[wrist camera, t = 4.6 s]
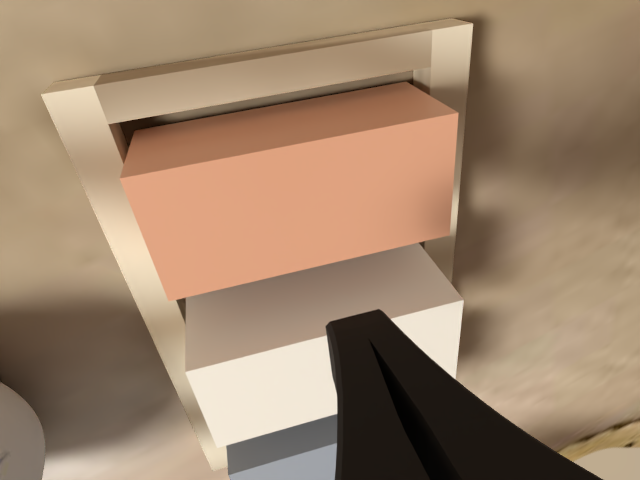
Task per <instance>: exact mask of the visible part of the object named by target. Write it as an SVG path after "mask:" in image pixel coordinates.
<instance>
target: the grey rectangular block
mask: <svg viewBox="0 0 640 480" xmlns="http://www.w3.org/2000/svg"><path fill="white" fill-rule="evenodd" d="M226 449H227V462H228V475H229V478H230V480H335V469H336V451H337V414H334V415H331V416H327V417H324V418H321V419H317V420H314V421H310V422H307V423H303V424H300V425H296V426H293V427H289V428H286V429H282V430H279V431H275V432H272V433H268V434H265V435H261V436H258V437H254V438H251V439H247V440H244V441H240V442H237V443H233V444H230V445H226Z"/></svg>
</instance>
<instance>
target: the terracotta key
mask: <svg viewBox="0 0 640 480" xmlns="http://www.w3.org/2000/svg"><path fill="white" fill-rule="evenodd" d="M458 114H459V113H458V112H456V111H455V110H453V109H451V108H450V107H448V106H446V105H445V104H443V103H441V102H440V101H438V100H436V99H435V98H433V97H431V96H430V95H428V94H426V93H424V92H423V91H421V90H419V89H418V88H416V87H414V86H413V85H411V84H409V83H408V82H401V83H396V84H390V85H385V86H379V87H373V88H368V89H362V90H357V91H351V92H346V93H340V94H335V95H329V96H324V97H318V98H312V99H307V100H301V101H296V102H290V103H285V104H279V105H274V106H268V107H263V108H257V109H251V110H246V111H240V112H235V113H229V114H224V115H218V116H213V117H207V118H202V119H196V120H190V121H185V122H179V123H174V124H168V125H163V126H157V127H152V128H146V129H141V130H135V131H134V134H133V137H132V140H131V144H130V147H129V150H128V153H127V156H126V160H125V163H124V166H123V169H122V173H121V176H120V181H121V183H122V186H123V188H124V191H125V193H126V196H127V198H128V201H129V203H130V206H131V208H132V211H133V213H134V216H135V218H136V221H137V223H138V226H139V228H140V231H141V233H142V236H143V239H144V241H145V244H146V246H147V249H148V251H149V254H150V256H151V259H152V261H153V264H154V266H155V269H156V271H157V274H158V276H159V279H160V281H161V284H162V286H163V289H164V291H165V294H166V296H167V299H168V301H173V300H178V299H182V298H186V297H190V296H194V295H199V294H203V293H207V292H211V291H216V290H220V289H224V288H228V287H233V286H237V285H241V284H245V283H250V282H254V281H258V280H262V279H266V278H271V277H275V276H279V275H283V274H288V273H292V272H296V271H300V270H305V269H309V268H313V267H317V266H322V265H326V264H330V263H334V262H339V261H343V260H347V259H351V258H355V257H360V256H364V255H368V254H372V253H377V252H381V251H385V250H389V249H394V248H398V247H402V246H406V245H411V244H415V243H419V242H423V241H427V240H432V239H436V238H440V237H444V236H449V235H450V224H451V210H452V196H453V183H454V169H455V155H456V141H457V128H458Z"/></svg>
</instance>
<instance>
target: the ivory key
mask: <svg viewBox="0 0 640 480" xmlns="http://www.w3.org/2000/svg"><path fill="white" fill-rule="evenodd" d="M463 302H464V299H463V298H462V297H461V296H460V294H459V293H458V292H457V291H456V289H455V288H454V287H453V286H452V284H451V283H450V282H449V281H448V279H447V278H446V277H445V275H444V274H443V273H442V272H441V270H440V269H439V268H438V267H437V265H436V264H435V263H434V262H433V260H432V259H431V258H430V256H429V255H428V254H427V253H426V251H425V250H424V249H423V248H422V246H421V245H420V244H419V243H415V244H411V245H406V246H402V247H398V248H394V249H389V250H385V251H381V252H377V253H372V254H368V255H364V256H360V257H355V258H351V259H347V260H343V261H339V262H334V263H330V264H326V265H322V266H317V267H313V268H309V269H305V270H300V271H296V272H292V273H288V274H283V275H279V276H275V277H271V278H266V279H262V280H258V281H254V282H250V283H245V284H241V285H237V286H233V287H228V288H224V289H220V290H216V291H211V292H207V293H203V294H199V295H194V296H190V297H186V333H185V373H186V376H187V378H188V380H189V383H190V385H191V387H192V390H193V392H194V395H195V397H196V399H197V402H198V404H199V406H200V409H201V411H202V414H203V416H204V418H205V421H206V423H207V425H208V428H209V430H210V433H211V435H212V437H213V440H214V442H215V444H216V447H217V448H219V447H223V446H226V445H230V444H233V443H237V442H240V441H244V440H247V439H251V438H254V437H258V436H261V435H265V434H268V433H272V432H275V431H279V430H282V429H286V428H289V427H293V426H296V425H300V424H303V423H307V422H310V421H314V420H317V419H321V418H324V417H327V416H331V415H334V414H337V392H336V388H335V384H334V381H333V377H332V370H331V363H330V356H329V348H328V341H327V334H326V327H325V326H326V325H327V324H328V323H329V322H330V321H334V320H337V319H341V318H345V317H349V316H353V315H357V314H361V313H365V312H369V311H373V310H377V309H380V310H382V311H383V312H384V313H385V314H386V315H387V316H388V317H389V318H390V319H391V320H392V321H393V322H394V323H395V324H396V325H397V326H398V327H399V328H400V329H401V330H402V331H403V332H404V333H405V334H406V335H407V336H408V337H409V338H410V339H411V340H412V341H413V342H414V343H415V344H416V345H417V346H418V347H419V348H420V349H421V350H422V351H424V352H425V353H426V354H427V355H428V356H429V357H430V358H431V359H432V360H434V361H435V362H436V363H437V364H438V365H439V366H440V367H442V368H443V369H444V370H445V371H446V372H447V373H448V374H450V375H451V376H452V377H453V378H454V379H456V369H457V360H458V350H459V341H460V331H461V321H462V312H463Z"/></svg>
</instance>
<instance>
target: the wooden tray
mask: <svg viewBox="0 0 640 480" xmlns="http://www.w3.org/2000/svg"><path fill="white" fill-rule="evenodd" d="M472 32H473V23H470V22H466V21H462V20H457V19H453V18H450V19H444V20H437V21H431V22H425V23H419V24H413V25H406V26H400V27H394V28H388V29H382V30H375V31H369V32H363V33H357V34H351V35H344V36H338V37H332V38H326V39H320V40H313V41H307V42H301V43H295V44H288V45H282V46H276V47H270V48H264V49H257V50H251V51H245V52H239V53H233V54H226V55H220V56H214V57H208V58H202V59H195V60H189V61H183V62H177V63H171V64H164V65H158V66H152V67H146V68H140V69H133V70H127V71H121V72H115V73H109V74H102V75H96V76H90V77H84V78H78V79H71V80H65V81H59V82H53V83H52V84H51V85H50V86H49V87H48V88H47V89H46V90H45V91H44V92H43V93H42V94H41V96H42V98H43V100H44V102H45V104H46V107H47V109H48V111H49V113H50V115H51V118H52V120H53V122H54V124H55V126H56V129H57V131H58V133H59V135H60V137H61V140H62V142H63V144H64V146H65V148H66V151H67V153H68V155H69V157H70V159H71V162H72V164H73V166H74V168H75V170H76V173H77V175H78V177H79V179H80V181H81V184H82V186H83V188H84V190H85V192H86V194H87V197H88V199H89V201H90V203H91V205H92V208H93V210H94V212H95V214H96V216H97V219H98V221H99V223H100V225H101V227H102V230H103V232H104V234H105V236H106V238H107V241H108V243H109V245H110V247H111V249H112V252H113V254H114V256H115V258H116V260H117V263H118V265H119V267H120V269H121V271H122V273H123V276H124V278H125V280H126V282H127V284H128V287H129V289H130V291H131V293H132V295H133V298H134V300H135V302H136V304H137V306H138V309H139V311H140V313H141V315H142V317H143V320H144V322H145V324H146V326H147V328H148V331H149V333H150V335H151V337H152V339H153V342H154V344H155V346H156V348H157V350H158V352H159V355H160V357H161V359H162V361H163V363H164V366H165V368H166V370H167V372H168V374H169V377H170V379H171V381H172V383H173V385H174V388H175V390H176V392H177V394H178V396H179V399H180V401H181V403H182V405H183V407H184V410H185V412H186V414H187V416H188V418H189V421H190V423H191V425H192V427H193V429H194V432H195V434H196V436H197V438H198V440H199V442H200V445H201V447H202V449H203V451H204V453H205V456H206V458H207V460H208V462H209V464H210V467H211V469H212V471H215V470H219V469H222V468H226V467H228V462H227V449H226V446H223V447H219V448H217V447H216V444H215V442H214V440H213V437H212V435H211V433H210V430H209V428H208V425H207V423H206V421H205V418H204V416H203V414H202V411H201V409H200V406H199V404H198V402H197V399H196V397H195V395H194V392H193V390H192V387H191V385H190V383H189V380H188V378H187V376H186V373H185V333H186V302H185V299H184V298H182V299H178V300H173V301H168V299H167V296H166V294H165V291H164V289H163V286H162V284H161V281H160V279H159V276H158V274H157V271H156V269H155V266H154V264H153V261H152V259H151V256H150V254H149V251H148V249H147V246H146V244H145V241H144V239H143V236H142V233H141V231H140V228H139V226H138V223H137V221H136V218H135V216H134V213H133V211H132V208H131V206H130V203H129V201H128V198H127V196H126V193H125V191H124V188H123V186H122V183H121V181H120V176H121V173H122V169H123V166H124V163H125V160H126V156H127V153H128V150H129V148H128V145H127V142H126V140H125V137H124V134H123V132H122V129H121V126H120V124H119V122H124V121H129V120H135V119H141V118H146V117H152V116H158V115H163V114H169V113H175V112H180V111H186V110H192V109H197V108H203V107H209V106H214V105H220V104H226V103H231V102H237V101H243V100H248V99H254V98H259V97H265V96H271V95H276V94H282V93H288V92H293V91H299V90H305V89H310V88H316V87H322V86H327V85H333V84H339V83H344V82H350V81H356V80H361V79H367V78H373V77H378V76H384V75H390V74H395V73H401V72H407V71H412V70H413V86H414V87H416V88H418V89H419V90H421V91H423V92H424V93H426V94H428V95H430V96H431V97H433V98H435V99H436V100H438V101H440V102H441V103H443V104H445V105H446V106H448V107H450V108H451V109H453V110H455V111H456V112H458V113H459V114H458V128H457V141H456V155H455V169H454V183H453V196H452V210H451V224H450V235H449V236H444V237H440V238H436V239H432V240H427V241H423V242H419V244H420V245H421V246H422V248H423V249H424V250H425V251H426V253H427V254H428V255H429V256H430V258H431V259H432V260H433V262H434V263H435V264H436V265H437V267H438V268H439V269H440V270H441V272H442V273H443V274H444V275H445V277H446V278H447V279H448V281H449V282H450V283H451V284H452V276H453V264H454V251H455V239H456V227H457V215H458V203H459V190H460V178H461V166H462V154H463V142H464V129H465V117H466V105H467V93H468V81H469V68H470V56H471V44H472Z"/></svg>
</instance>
